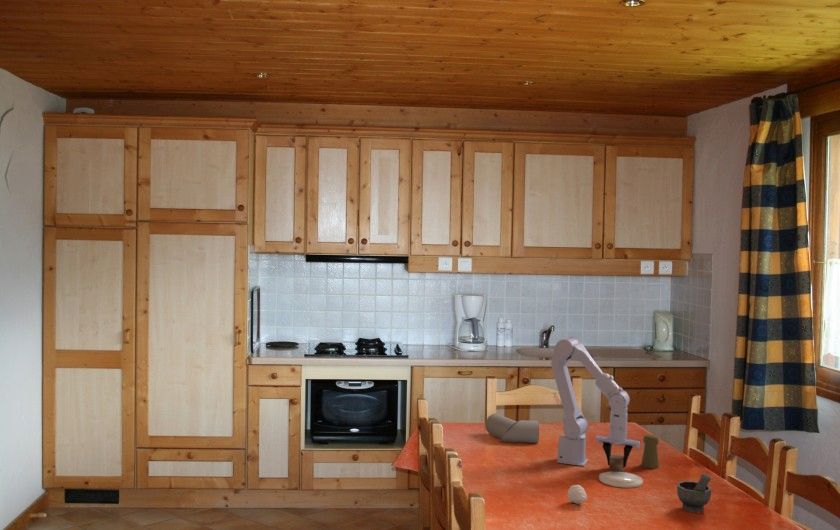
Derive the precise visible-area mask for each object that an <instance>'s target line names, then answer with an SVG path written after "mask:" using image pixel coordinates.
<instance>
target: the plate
mask: <svg viewBox="0 0 840 530" xmlns="http://www.w3.org/2000/svg"><path fill="white" fill-rule="evenodd" d="M598 480H599V482H601V483H602V484H605V485H607V486H610V487H615V488H623V489H631V488H638V487H642V485H643V483H644V479H643V478H642V477H640V476H639V475H636V474H634V473H630V472H626V471H625V472H624V471H623V472H616V471H606V472H601V473H599V475H598Z"/></svg>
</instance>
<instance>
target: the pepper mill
mask: <svg viewBox="0 0 840 530" xmlns="http://www.w3.org/2000/svg"><path fill="white" fill-rule="evenodd" d="M642 441H643V443H644V447H643V454H642V459H641V467H642V468H645V469H653V470H654V468H655V469H659V467H660V464H659V463H660V461H659V451H658V444H659V441H660V440H659V436H657V435H655V434H645V435H644V437H643V440H642Z"/></svg>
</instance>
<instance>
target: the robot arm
mask: <svg viewBox="0 0 840 530" xmlns="http://www.w3.org/2000/svg"><path fill="white" fill-rule="evenodd" d="M552 353H553V354H552V357H551V358H552V359H551V362H550V365H551V369H552V372H553V377H554V379H555V384H556V387H557V390H558V394H559V399H560V401H561V405H562V409H563V417H562V420H563V425H562V426H563V428H562V430H563V434H564V435H559V437H558V442H557V461H556V463H558V464H566V465H572V466H573V465H574V466H580V467H584V466H585V465H586V463H588V461H589V458H586V447H587V446H586V444H587V443H586V440H587V436H586V433H587V431H588V428H589V422H588V421H587V419H586V418H585V416H584V414H583V412H582V410H581V409H580V408H579V405H578V400H577V398H576V394H575V389H574V387H573V383H572V380H571V376H570V372H569V368H568V364H569V363H570V361H571V360H574V361H577V362H580V363H581V364H582V365H583V366H584V368H586V370H587V371H588V372H589V373H590V374H591V376H592V377H593V378H594V379H595V382H594V383H595V384H594V385H596V387H597V388H598V389H599V390H600V392H601V393H602V394H603V395H604V396H605V398H606V399H607V400H608V401H607V402H608V405H609V407H610V414H609V415H610V417H609V436H604V435H603V436H601V435H596V437H595V443H596V444H597V443H598V444H599V443H600V444H602V449H603V451H604V453H605V457H606V460H607V465H608V466H609V463H610V456H611V455H612V445H615V446H616V445H617V446H624V447H623V456H624V462H623V467H625V468H626V467H627V462H628V459H629V456H630V454H631V451H632V449H633V448H636V449H640V446H641V441H640V440H634V439H629V438H628V436H627V435H628V406H629V404H630V401H631V398H630V395H629V394H628V392H627V391H626V390H624V389H623V388H622V387H621V386H619V385H618V384H617V383H616V381H615V380H614V375H610V374H609V373H605V372H603V370H602V369H601V367H600V366H599V365H598V364H597V363H596V361H595V360H594V359H593V357H592V356H591V354H590V353H589V351H588V350H587V348H586V347H585V345H584V344H583V343H581V342H580V340H579V339H578V338H577V337H574V336H570V337H569V336H568V337H567V338H565V339H560V340H558V341H557V342H556V344H555V345H554V347H553V352H552Z"/></svg>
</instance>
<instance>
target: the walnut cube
mask: <svg viewBox="0 0 840 530" xmlns="http://www.w3.org/2000/svg"><path fill="white" fill-rule="evenodd" d="M623 462H624V455H621V454H613V453H611V456H610V463H609V465H608V466H609V467H608V469H609V471H608V472H624V471H625V468H626V467H623Z"/></svg>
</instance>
